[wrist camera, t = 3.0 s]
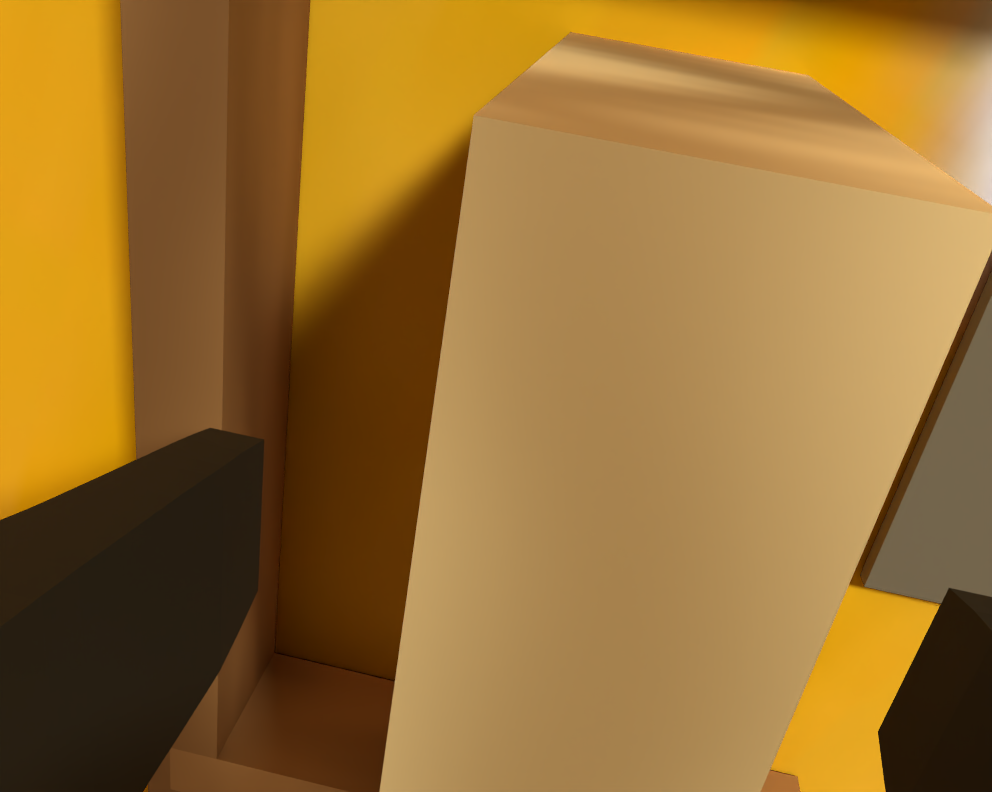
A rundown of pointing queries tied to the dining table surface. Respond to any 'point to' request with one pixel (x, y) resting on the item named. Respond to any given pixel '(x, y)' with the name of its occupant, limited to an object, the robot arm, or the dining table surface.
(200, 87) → the rack
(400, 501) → the dining table surface
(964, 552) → the mat
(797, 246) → the tan wooden block
